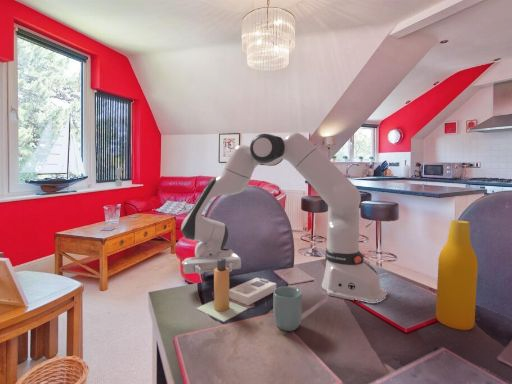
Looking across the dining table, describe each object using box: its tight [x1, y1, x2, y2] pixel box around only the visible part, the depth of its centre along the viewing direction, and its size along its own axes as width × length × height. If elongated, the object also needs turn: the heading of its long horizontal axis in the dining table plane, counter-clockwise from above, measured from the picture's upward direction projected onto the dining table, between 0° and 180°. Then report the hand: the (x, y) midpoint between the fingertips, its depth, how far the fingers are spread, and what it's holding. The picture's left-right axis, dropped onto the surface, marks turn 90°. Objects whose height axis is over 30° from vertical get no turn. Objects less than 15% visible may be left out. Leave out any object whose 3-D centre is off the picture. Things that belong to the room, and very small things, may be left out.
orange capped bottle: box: [213, 258, 230, 312], centre depth 89 cm, size 4×4×15 cm
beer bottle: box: [435, 219, 479, 331], centre depth 83 cm, size 9×9×29 cm
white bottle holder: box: [229, 277, 277, 306], centre depth 100 cm, size 15×9×4 cm, turn 141°
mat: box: [195, 300, 248, 323], centre depth 89 cm, size 12×10×1 cm
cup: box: [272, 285, 303, 332], centre depth 81 cm, size 8×8×10 cm
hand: (215, 270), depth 98 cm, fingers open, 8 cm apart
